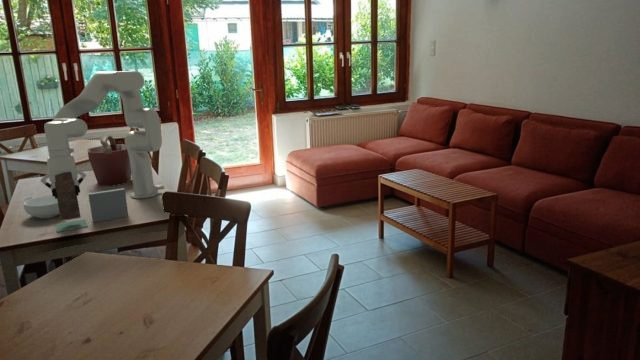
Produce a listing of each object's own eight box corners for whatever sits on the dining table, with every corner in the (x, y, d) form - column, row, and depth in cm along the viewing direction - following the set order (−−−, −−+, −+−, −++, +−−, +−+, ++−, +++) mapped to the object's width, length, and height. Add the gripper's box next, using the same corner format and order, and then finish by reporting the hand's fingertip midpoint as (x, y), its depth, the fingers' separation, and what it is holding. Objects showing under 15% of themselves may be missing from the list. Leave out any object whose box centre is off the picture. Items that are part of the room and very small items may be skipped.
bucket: (124, 188, 257) (117, 140, 251) (81, 188, 258) (74, 141, 251) (141, 175, 281) (135, 132, 274) (102, 176, 281) (95, 132, 275)
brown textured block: (72, 222, 198) (64, 174, 193) (56, 221, 199) (47, 173, 194) (84, 216, 205) (77, 169, 200) (69, 215, 207) (61, 168, 201)
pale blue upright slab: (127, 214, 215) (124, 188, 212) (128, 216, 213) (124, 189, 210) (92, 220, 208) (88, 193, 205) (93, 222, 207) (88, 194, 204)
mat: (85, 220, 210) (85, 219, 210) (87, 227, 201) (87, 226, 201) (56, 225, 205) (55, 224, 205) (57, 232, 196) (57, 231, 196)
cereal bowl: (78, 212, 221) (75, 196, 219) (44, 224, 206) (41, 208, 205) (51, 207, 228) (49, 193, 226) (17, 219, 213) (14, 203, 212)
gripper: (83, 148, 202) (89, 190, 207) (34, 154, 194) (42, 197, 199) (84, 151, 196) (91, 195, 201) (34, 157, 188) (42, 202, 193)
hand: (66, 196), depth 200 cm, fingers closed on brown textured block, 7 cm apart
